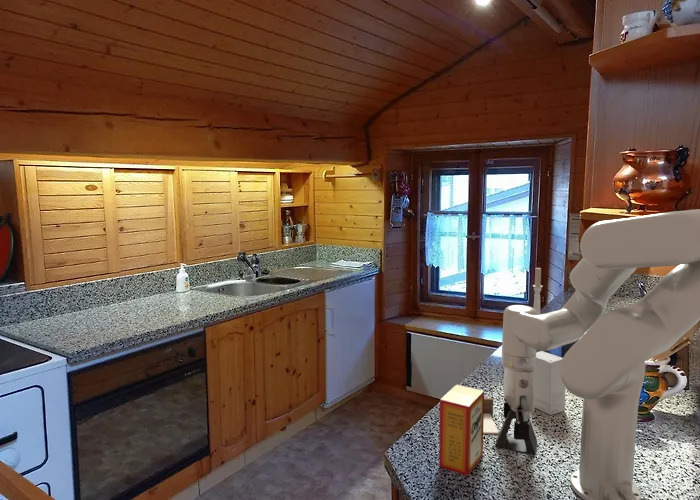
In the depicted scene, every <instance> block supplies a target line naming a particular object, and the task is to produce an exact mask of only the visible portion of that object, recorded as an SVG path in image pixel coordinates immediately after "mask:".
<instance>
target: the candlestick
mask: <svg viewBox="0 0 700 500" xmlns="http://www.w3.org/2000/svg"><path fill="white" fill-rule="evenodd" d="M534 273H535V274H534V275H535V276H534V284H533V285H532V287H533V291H534V295H533V296H534V297H533V299H534V300H533V306H532V308H534V309H535V310H536V311H537V313H538V315H539V314H541V295H540V293H541V291H542V288H543V286H544V285H542V284H541V282H542V268H541V267H535V272H534Z"/></svg>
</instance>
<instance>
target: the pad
mask: <svg viewBox="0 0 700 500" xmlns="http://www.w3.org/2000/svg"><path fill="white" fill-rule="evenodd" d="M499 432H500V431H499V430H498V428H497V425H496V424H495V422H494V420H493V417H492V415H491V413H484V422H483V435H498V434H499Z"/></svg>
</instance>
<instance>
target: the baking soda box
mask: <svg viewBox="0 0 700 500" xmlns="http://www.w3.org/2000/svg"><path fill="white" fill-rule="evenodd" d="M484 398H485V390H483V389H478V388H475V387H469V386H465V385H461V384H455V385H454V386H453V387H452V388H451V389H449V391H448V392H447V393H445V394H444V395H443V396H442V397H440V399H439V460H438V461H439V465H438V466H439V468H442V469H444V470H448V471H451V472H453V473H457V474H460V475H463V476H466V477H468V476H470V474H471V472H472V471H473V470H474V468H475V467H476V466H477V464H478V463H479V461H480V460H481V459H482V457H483V456H484V434H483V422H484V414H485V413H484Z"/></svg>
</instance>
